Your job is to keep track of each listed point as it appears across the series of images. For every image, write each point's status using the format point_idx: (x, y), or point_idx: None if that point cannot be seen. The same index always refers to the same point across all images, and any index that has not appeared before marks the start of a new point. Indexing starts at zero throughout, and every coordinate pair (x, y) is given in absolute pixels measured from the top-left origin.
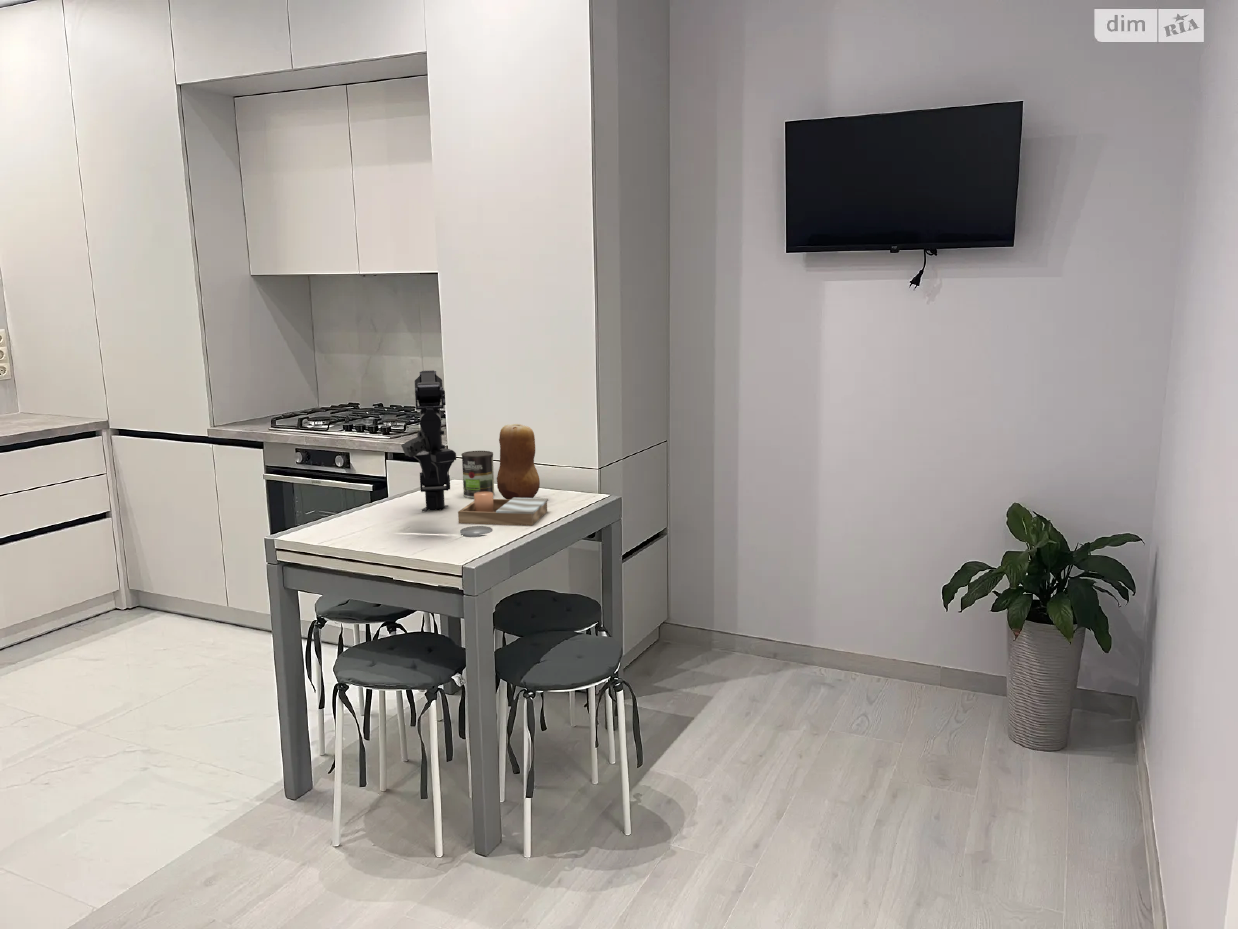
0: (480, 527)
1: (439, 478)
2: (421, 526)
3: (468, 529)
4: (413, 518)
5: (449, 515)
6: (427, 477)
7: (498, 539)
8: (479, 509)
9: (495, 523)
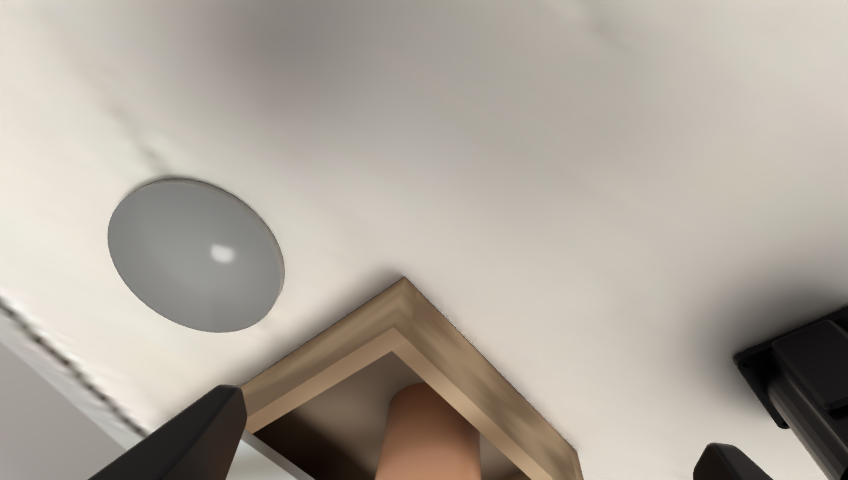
0: (232, 303)
1: (128, 456)
2: (548, 110)
3: (226, 245)
4: (782, 179)
5: (630, 346)
6: (706, 476)
7: (36, 263)
8: (405, 425)
9: (265, 377)
